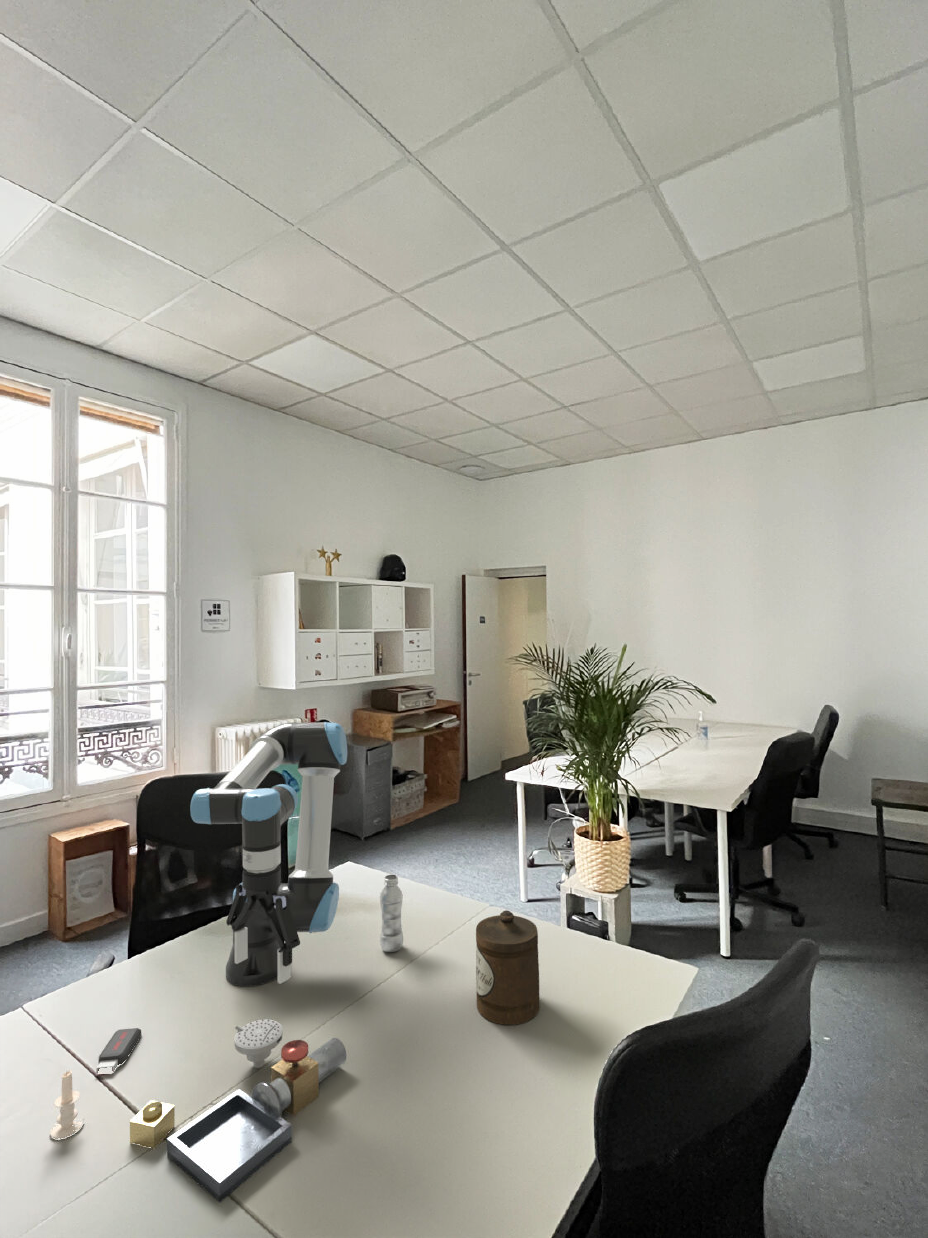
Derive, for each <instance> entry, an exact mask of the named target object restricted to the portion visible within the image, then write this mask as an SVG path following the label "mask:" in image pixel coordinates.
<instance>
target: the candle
mask: <svg viewBox="0 0 928 1238" xmlns="http://www.w3.org/2000/svg"><path fill="white" fill-rule="evenodd" d="M72 1073H73V1072H72V1070H67V1071H66V1072H65V1073H63V1075H62V1076H61V1077H62V1078H61V1095H58V1097H57V1098H56V1099H55V1100H54V1104H53V1105H54V1106H55V1107H56V1108H59V1114H58V1116H57V1117H56V1123H58V1124H56V1123H55V1124H54V1125H56V1127H53V1126H52V1127H53V1130H52V1129H51V1128H50V1131H49V1136H50V1135H51V1136H53V1138H55V1139H58V1138H60V1139H61V1138H65V1137H67V1136H70V1135H72V1134H74V1133H75V1132H76V1131H75V1130H78V1129H80V1128H81V1126H77V1127H75V1125H82V1122H78V1123H76V1121H75V1122H73V1121H74V1120H76V1119H75V1118H76V1117H77V1115H79V1114H78V1113H79V1112H78V1109H76V1108H75V1103H76V1102H77V1101H78V1100H79V1098H81V1097H80V1096H81V1094H80V1092H79V1091H78V1090H77V1091H76V1090H73V1074H72ZM78 1120H79V1119H78ZM80 1120H81V1119H80ZM57 1125H58V1126H57ZM72 1125H73V1126H72ZM73 1130H74V1131H73Z"/></svg>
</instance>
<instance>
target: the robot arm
mask: <svg viewBox="0 0 928 1238" xmlns="http://www.w3.org/2000/svg"><path fill="white" fill-rule="evenodd" d="M347 761H348V742H347V736H346V732H345V730H344V727H343V726H342V725H341V724H340V723H338V722H328V721H323V722H321V721H320V722H287V723H283V724H279V725H276V726H274V727H272V728H270V729H268V730H266V731H264V732H263V733H261V734H260V735H259V736H257V737H256V738H255V739H254V740H253V741H252V742H251V744H250V746H249V747H248V752H247V753H246V754H245V755H243V757H242V758H241V759H240V760H239V762H238V763H237V764H235V765H234V767H233V768H232V769H231V770H230V771H229V772H228V773H227V774H226V775H225V776H224V777H223V778H222V779H221V780H220V781H219V782H218V783H217V784H216V786H215V787H213V788H210V787H207V788H200V789H197V790H195V792H194V793H193V795H192V797H191V801H190V805H189V807H190V809H189V810H190V817H191V820H192V821H193V822H194V823H196V824H201V825H202V824H203V825H204V824H205V825H226V824H227V825H228V824H229V825H230V824H234V825H236V824H238V825H239V824H242V825H241V827H242V828H241V829H242V831H241V832H242V833H241V835H242V845H241V846H242V867H243V870H242V880H241V881H242V882H241V883H239V884H237V885H236V886H235V888H234V890H233V894H232V904H231V906H230V909H229V913H228V916H227V918H226V922H225V923H226V925H227V926H231V930H232V946H231V949H230V952H229V956H228V959H227V961H226V962H227V963H226V965H225V978H226V980H227V982H229V983H230V984H232V985H234V986H239V987H254V986H260V985H264V984H267V983H270V982H272V981H274V980H275V979H277V984H282V983H284V982H286V981H288V980H290V979H291V976H292V969H291V968H292V966H291V965H292V963H293V949H294V948H296V947H299V946H300V944H301V941H300V940H301V939H300V937H299V934H298V933H309V934H312V933H323V932H326V931H328V930H329V929H330V927H331V926H332V925H333V922H334V921H335V917H336V913H337V910H338V904H339V899H340V886H339V884H338V883H336V882H334V874H333V873H332V872H331V871H330V870H329V861H330V860H329V859H330V857H329V856H330V846H331V845H330V844H331V830H332V829H331V828H332V813H333V801H334V799H333V798H334V788H335V787H334V785H335V784H334V783H335V777H336V776H337V775H338V774H339V773H340V772H341V765H342V766H343V765H345V764H347ZM282 765H283V766H284V765H297V772H298V773H299V774H300V775H301V777H302V780H301V781H302V782H301V791H300V792H301V793H300V807H299V815H298V817H299V818H298V829H297V830H298V831H297V839H296V840H297V843H296V856H295V866H294V870H293V871H292V872H291V873H290V874H289V875H288V879H287V883H284V882H282V883H281V881H282V879H281V878H282V877H281V876H282V875H281V874H282V871H281V869H282V868H281V866H280V864H281V863H282V862H281V861H282V858H281V857H282V856H281V855H282V853H281V852H282V850H281V849H282V847H281V827H282V825H283V824H284V823H285V822H286V821H287V820H288V819H289V818H291V817H292V816H293V814H294V812H295V811H296V809H297V807H298V805H299V798H298V793H297V791H296V790H295V789H294V788H293V787H292V786H290V785H289V784H285V783H284V784H283V783H282V784H281V783H280V784H276V785H273V786H272V787H271V788H270V787H268V788H267V787H265V788H258V787H259V786H260V784H261V783H262V781H263V780H264V779H265V778H266V777H267V775H268V774H269V773H270V772H271V771H273V770H275V769H276V768H278V767H280V766H282Z"/></svg>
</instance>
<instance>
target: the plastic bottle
mask: <svg viewBox="0 0 928 1238" xmlns="http://www.w3.org/2000/svg"><path fill="white" fill-rule="evenodd" d="M398 878H399V877H398V875H397V874H387V875H385V877H384V882H383V883H384V884H383V885H384V888H383V889H382V891H381V892H380V895H379V902H380V903H379V904H380V908H381V909H380V910H381V929H380V930H381V932H380V937H379V945H380V948H381V949H382V950H383V952H386V953H396V952H398V951H400V950H401V949H402V947H403V945H404V933H403V927H402V908H403V907H402V906H403V896H404V895H403V892H402V890H401V888H400V887H399V886H398V885H399V879H398Z"/></svg>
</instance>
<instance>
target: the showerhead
mask: <svg viewBox="0 0 928 1238" xmlns="http://www.w3.org/2000/svg"><path fill="white" fill-rule="evenodd" d="M234 1029H235V1030H236V1033H235V1035H234V1038H233V1040H234V1049H235V1050H236V1051H237V1052H238V1053H240V1054H241V1055H245V1056H246V1059H247V1060H248V1061H249V1062H252V1064H253V1067H254V1068H255V1069H256V1068H257V1069H259V1068H262V1067H263V1066H264V1065H265V1061H266V1059H267V1058H269V1057H270V1055H271V1053H272V1050H273V1049H274V1048H276V1047H277V1046H278V1045H279V1044H281V1042H282V1039H283V1031H284V1030H283V1026H282V1024H281V1023H280V1022H279V1021H276V1020H273V1019H269V1018H267V1019H264V1018H263V1019H256V1020H255V1021H251V1022H249V1023H247V1024H245V1025H243V1026H242V1027H241V1026H240V1025H236V1026H235V1027H234Z"/></svg>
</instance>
